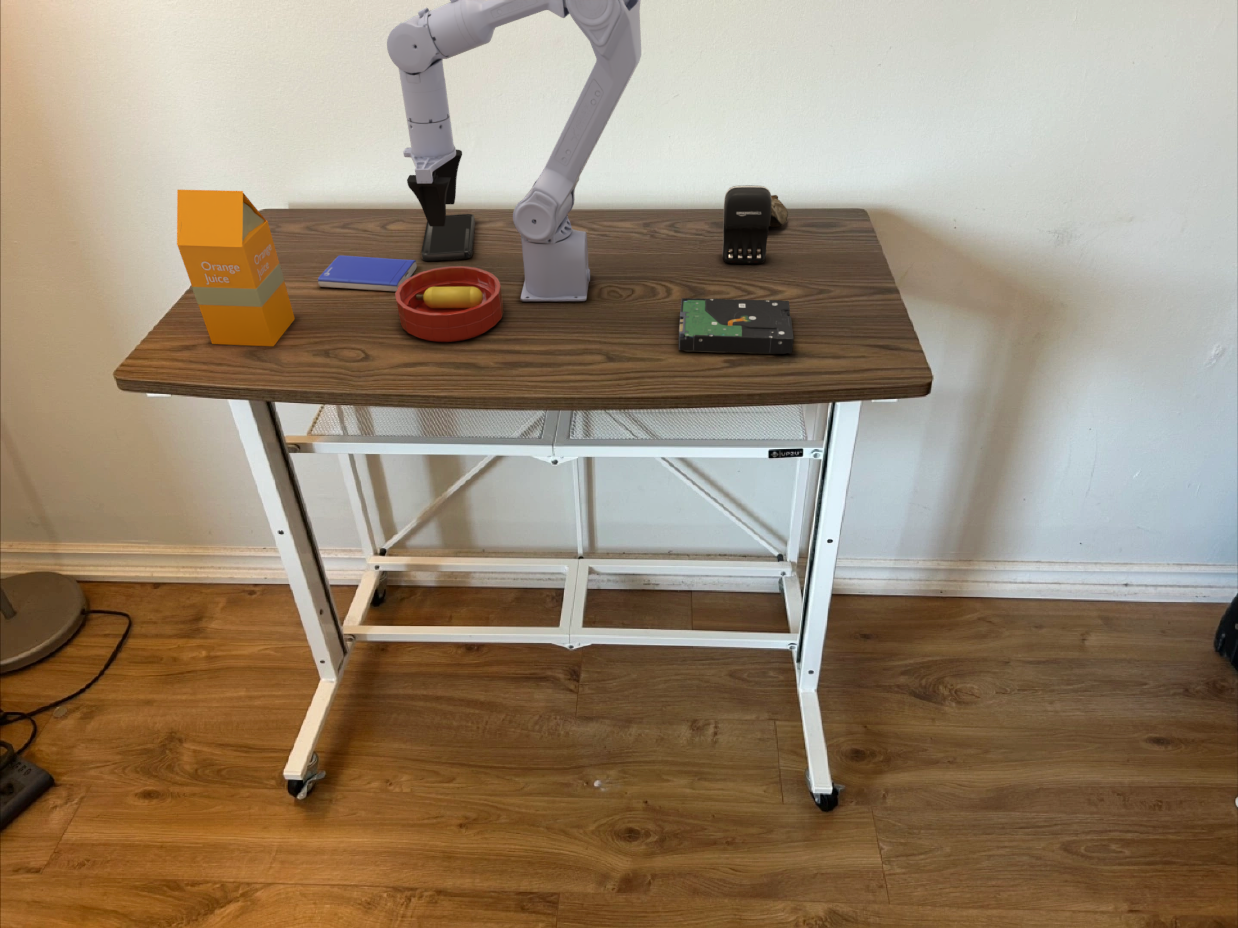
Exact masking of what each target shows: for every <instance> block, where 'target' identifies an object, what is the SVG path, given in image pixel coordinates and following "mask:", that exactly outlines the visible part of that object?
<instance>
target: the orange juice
mask: <svg viewBox="0 0 1238 928" xmlns="http://www.w3.org/2000/svg"><path fill="white" fill-rule="evenodd" d="M176 192H177V193H176V195H177V196H176V201H177V202H176V205H177V206H176V246H177V248H178V251H179V254H180V257H181V259H182V262H183V265H184V268H185V271H186V273H187V277H188V279H189V283H190V285H191V289H192V292H193V295H194V298H195V301H196V303H197V305H198V308H199V310H200V313H201V316H202V319H203V322H204V324H205V328H206V330H207V333H208V337H209V339H210V342H211V344H212V345H229V346H251V347H252V346H256V347H258V346H259V347H274V346H276V344H277V343H278V341H279V340H280V339H281V338H282V336H284V334H285V333H286V331H287V330H288V328H289V327H290V326H291V324H292V323H293V322H294V321H295V319H296V318H295V314H294V311H293V307H292V303H291V300H290V296H289V293H288V289H287V285H286V282H285V277H284V272H283V270H282V266H281V262H280V261H279V257H278V253H277V249H276V246H275V242H274V239H273V236H272V231H271V227H270V224H269V221H268V220H267V219H266V218H265V217H264V216H263V215H262V213H261V212H260V211H259V210H258V209H257V207H256V206H255V205H254V204H253V202H252V201H251V200H250V199H249V198H248V196H247V195H246V194H245V193H244V190H218V189H217V190H216V189H215V190H214V189H213V190H212V189H177V191H176Z"/></svg>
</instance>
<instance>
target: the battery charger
mask: <svg viewBox="0 0 1238 928" xmlns="http://www.w3.org/2000/svg"><path fill="white" fill-rule="evenodd" d="M771 195H772V193H771V190H770V189H769V188H768V187H766V186H764V185H753V184H752V185H748V184H747V185H732V186H731V187H729V188H728V189H727V190H726V192H725V195H724V200H723V210H722V211H723V213H722V214H723V215H722V249H721V257H722V260H723V261H724V262H725V263H727V264H734V265H735V264H736V265H737V264H738V265H739V264H740V265H741V264H742V265H744V264H745V265H750V264H751V265H753V264H754V265H755V264H763V263H764V262H765V261H766V257H767V245H768V244H767V243H768V236H769V229H770V227H771V226H770V220H771V205H772V202H771Z"/></svg>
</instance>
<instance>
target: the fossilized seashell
mask: <svg viewBox="0 0 1238 928" xmlns="http://www.w3.org/2000/svg"><path fill="white" fill-rule="evenodd" d="M771 202H772V205H771V220H770V226H769V227H772V228H779V227H782V226H784V225H785V224H786V223H788V217H789V211H788V209H787V207H786V206H785V205H784V203H782V201H781V200H780V199H779V196H778V195H777V194H771Z"/></svg>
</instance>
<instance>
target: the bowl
mask: <svg viewBox="0 0 1238 928" xmlns="http://www.w3.org/2000/svg"><path fill="white" fill-rule="evenodd" d="M430 287H476V288H478V289H479V290H480V291H481V292H482V294H483V301H482V303H481V304H480V305H478V306H475V307H472V308H430V307H428V306H427V305H426V304H425V302H424V300H416V294H424V292H425V291H426V290H427V289H428V288H430ZM394 296H395V301H396V306H397V311H398V317H399V321H400V325H401V328H402V329H403V330H404V331H405V332H406V333H407V334H409V335H412V336H414V337H417V338H418V339H421V340H424V341H429V342H436V343H451V342H460V341H465V340H469V339H473V338H476V337H478V336H481V335H482V334H484V333H486V332H488V331H489V330H491V329H492V328H493V327H495V326H496V325H497V324H498V323H499V322H500V320H501V319H502V318H503V315H504V303H503V293H502V285H501V283H500V280H499V278H498V277H497V276H495V275H494V274H493V273H492V272H490V271H487V270H485V269H482V268H479V267H473V266H472V267H471V266H466V265H465V266H463V265H462V266H461V265H458V266H457V265H455V266H453V265H452V266H449V265H448V266H442V267H441V266H440V267H435V268H431V269H427V270H424V271H421V272H417V273H416V274H414V275H411V276H410V278H408V279H406V280H405V281H404V282H403V283H402V284H400V285H399V287H398V289H397V291H395V294H394Z"/></svg>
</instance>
